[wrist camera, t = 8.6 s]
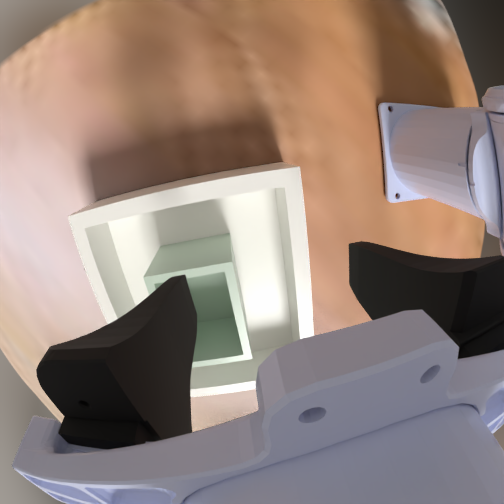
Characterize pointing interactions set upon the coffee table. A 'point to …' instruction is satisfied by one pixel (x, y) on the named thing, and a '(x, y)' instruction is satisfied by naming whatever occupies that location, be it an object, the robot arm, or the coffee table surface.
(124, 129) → the coffee table surface
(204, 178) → the white shallow tray
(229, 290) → the small crate
